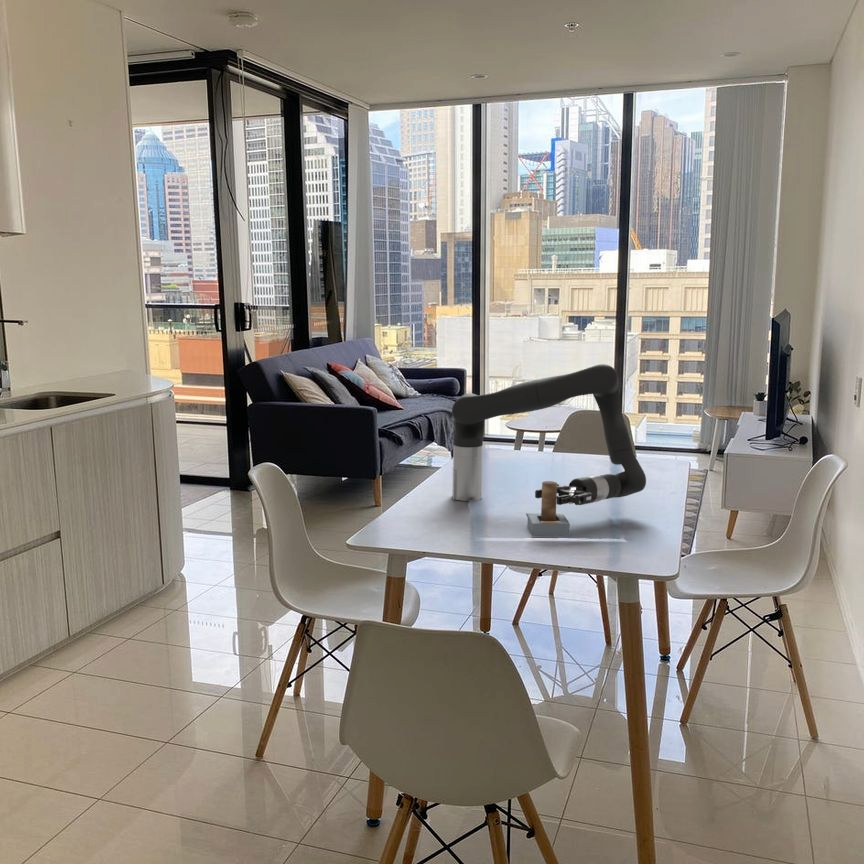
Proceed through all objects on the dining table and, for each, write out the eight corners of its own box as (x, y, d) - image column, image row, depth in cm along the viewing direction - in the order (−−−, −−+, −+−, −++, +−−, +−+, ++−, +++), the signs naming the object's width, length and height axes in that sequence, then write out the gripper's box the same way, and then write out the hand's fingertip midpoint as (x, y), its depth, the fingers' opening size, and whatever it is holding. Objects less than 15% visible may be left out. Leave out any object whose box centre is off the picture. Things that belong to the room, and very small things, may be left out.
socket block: (531, 537, 231) (532, 522, 230) (527, 527, 241) (527, 512, 240) (569, 538, 231) (569, 522, 230) (563, 527, 241) (563, 513, 240)
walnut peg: (541, 534, 234) (543, 484, 232) (539, 530, 238) (541, 481, 236) (556, 534, 234) (558, 484, 232) (554, 530, 238) (555, 481, 236)
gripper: (571, 472, 248) (529, 479, 239) (608, 481, 237) (565, 489, 227) (570, 497, 249) (528, 505, 240) (607, 508, 238) (564, 516, 229)
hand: (546, 497), depth 234 cm, fingers open, 8 cm apart
